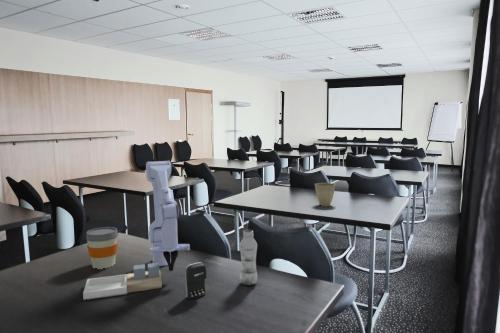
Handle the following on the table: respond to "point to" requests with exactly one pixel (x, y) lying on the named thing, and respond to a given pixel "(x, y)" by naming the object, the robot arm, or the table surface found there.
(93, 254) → the reusable coffee cup
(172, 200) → the robot arm
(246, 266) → the plastic bottle
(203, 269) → the battery charger
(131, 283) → the beige piece
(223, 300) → the table surface
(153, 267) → the blue-grey cube
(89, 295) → the box
